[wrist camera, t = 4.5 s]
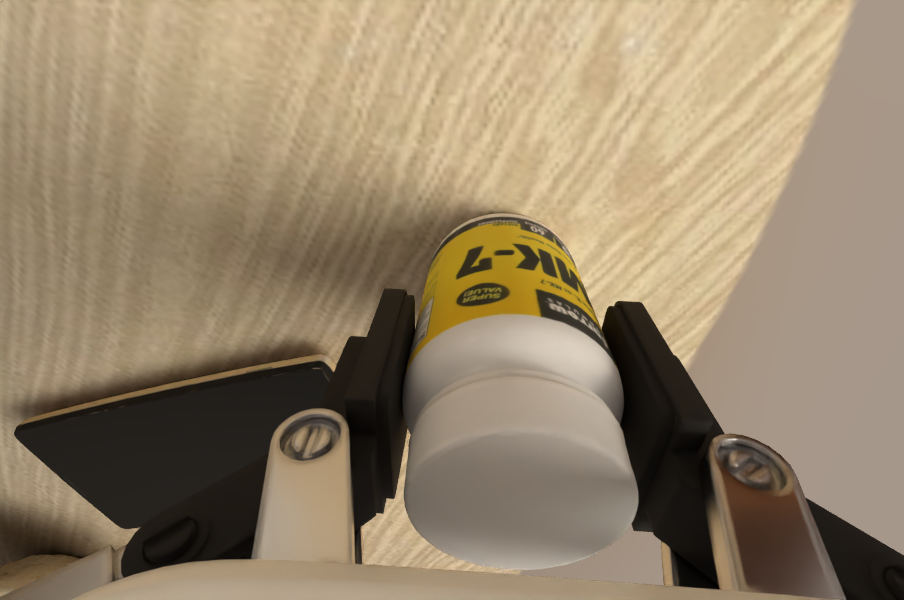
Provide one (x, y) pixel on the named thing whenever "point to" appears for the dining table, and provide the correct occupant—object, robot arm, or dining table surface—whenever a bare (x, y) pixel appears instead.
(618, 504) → the supplement bottle
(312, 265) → the dining table surface
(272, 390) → the smartphone
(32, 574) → the bowl
